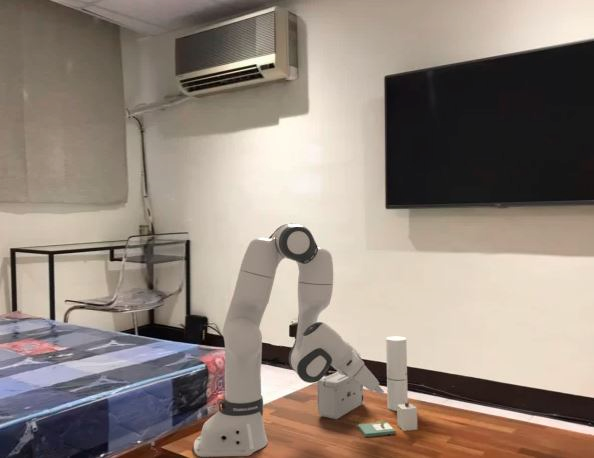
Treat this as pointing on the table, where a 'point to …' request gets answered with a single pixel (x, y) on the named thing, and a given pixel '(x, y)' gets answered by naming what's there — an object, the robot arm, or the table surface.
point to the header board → (376, 429)
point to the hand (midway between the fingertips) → (376, 388)
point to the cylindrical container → (396, 371)
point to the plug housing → (407, 416)
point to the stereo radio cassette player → (338, 395)
